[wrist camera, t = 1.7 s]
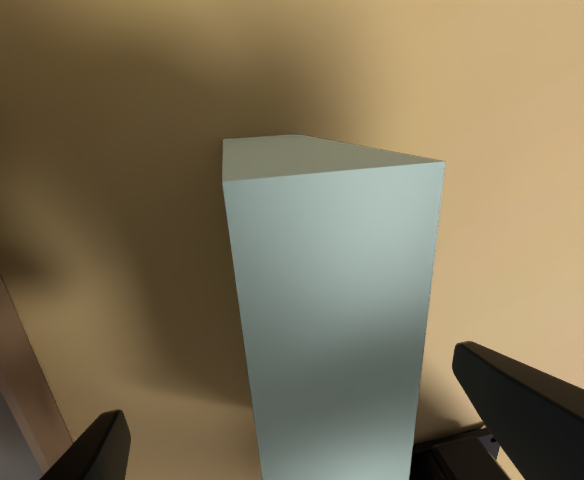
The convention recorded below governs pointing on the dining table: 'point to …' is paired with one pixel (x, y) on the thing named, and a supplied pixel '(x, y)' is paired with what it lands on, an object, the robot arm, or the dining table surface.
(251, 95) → the dining table surface
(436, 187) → the door panel
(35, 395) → the track base
